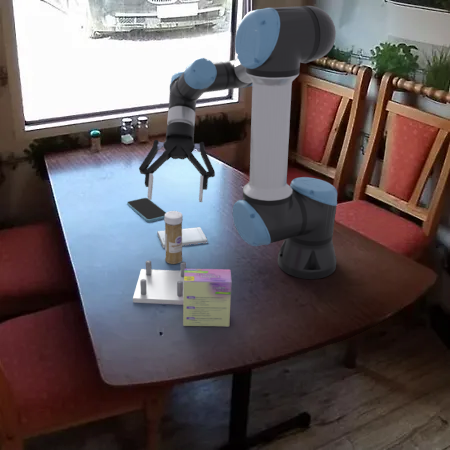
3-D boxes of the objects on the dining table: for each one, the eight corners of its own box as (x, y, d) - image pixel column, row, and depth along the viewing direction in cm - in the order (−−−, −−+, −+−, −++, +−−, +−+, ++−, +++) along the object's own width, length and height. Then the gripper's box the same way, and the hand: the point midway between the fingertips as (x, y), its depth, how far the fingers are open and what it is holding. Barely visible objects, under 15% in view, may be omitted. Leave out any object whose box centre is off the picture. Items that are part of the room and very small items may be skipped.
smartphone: (147, 197, 201) (169, 214, 190) (147, 200, 201) (169, 218, 190) (125, 201, 197) (147, 220, 186) (125, 205, 198) (147, 223, 187)
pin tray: (192, 275, 162) (193, 259, 160) (188, 304, 150) (188, 287, 148) (141, 273, 162) (140, 257, 160) (133, 302, 150) (132, 285, 148)
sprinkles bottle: (176, 266, 165) (176, 219, 159) (161, 261, 167) (160, 215, 161) (185, 258, 169) (186, 213, 163) (171, 254, 171) (171, 208, 165)
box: (228, 312, 148) (230, 268, 143) (229, 327, 143) (231, 282, 138) (183, 311, 148) (183, 267, 142) (182, 326, 143) (183, 281, 137)
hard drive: (162, 244, 173) (207, 239, 176) (157, 230, 180) (200, 226, 183) (162, 249, 174) (207, 244, 177) (157, 235, 181) (200, 231, 184)
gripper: (226, 134, 180) (222, 206, 174) (137, 130, 181) (130, 201, 174) (225, 122, 173) (221, 196, 167) (133, 118, 174) (126, 192, 167)
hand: (175, 199), depth 171 cm, fingers open, 13 cm apart
